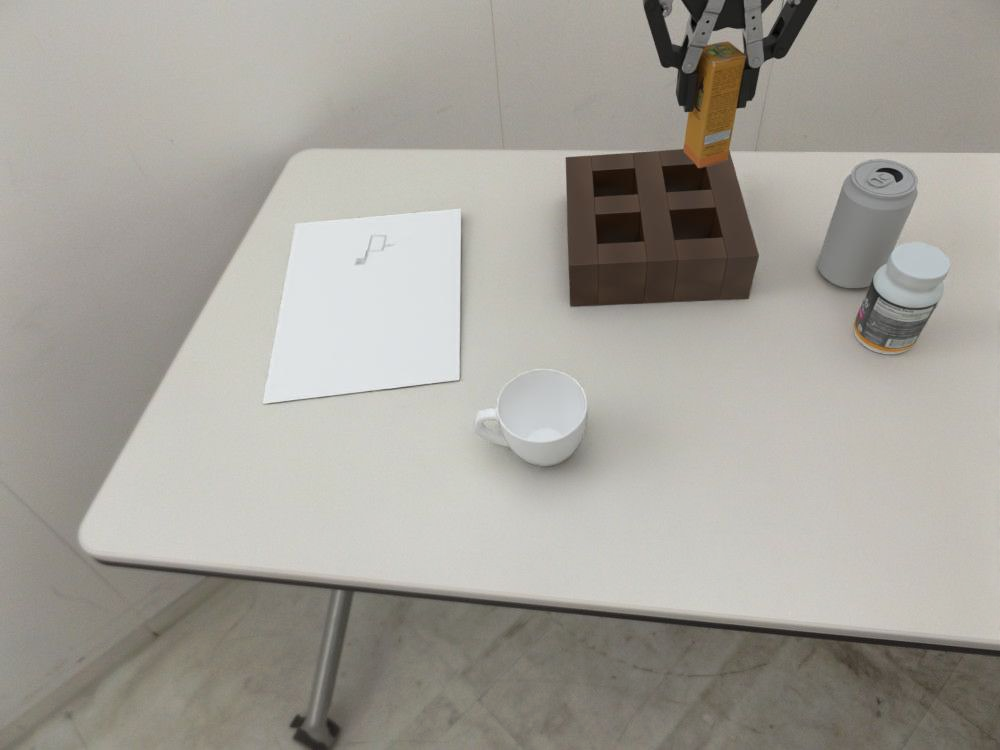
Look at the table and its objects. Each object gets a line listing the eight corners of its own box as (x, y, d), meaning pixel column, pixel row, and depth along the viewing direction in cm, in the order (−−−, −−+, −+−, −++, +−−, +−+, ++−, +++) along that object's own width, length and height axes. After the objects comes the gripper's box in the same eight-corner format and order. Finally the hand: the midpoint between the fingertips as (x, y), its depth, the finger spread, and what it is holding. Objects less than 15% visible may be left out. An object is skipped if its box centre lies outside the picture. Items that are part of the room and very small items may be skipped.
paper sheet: (482, 212, 85) (481, 206, 84) (457, 408, 68) (455, 402, 67) (300, 219, 88) (297, 212, 87) (233, 408, 71) (229, 402, 70)
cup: (591, 481, 60) (590, 440, 55) (478, 486, 61) (467, 445, 56) (585, 410, 65) (584, 365, 60) (481, 415, 66) (471, 371, 61)
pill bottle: (862, 306, 69) (895, 229, 62) (923, 327, 67) (965, 249, 59) (843, 343, 67) (875, 267, 59) (905, 366, 64) (947, 290, 57)
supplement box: (731, 160, 64) (749, 54, 56) (697, 170, 64) (710, 65, 56) (714, 142, 66) (729, 37, 58) (681, 151, 66) (691, 47, 58)
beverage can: (894, 273, 72) (938, 177, 62) (852, 302, 70) (892, 207, 61) (842, 243, 75) (877, 147, 66) (802, 269, 74) (832, 175, 64)
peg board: (721, 189, 83) (728, 145, 79) (748, 298, 72) (759, 255, 67) (567, 198, 85) (565, 156, 81) (570, 306, 74) (568, 265, 69)
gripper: (646, -94, 46) (635, 135, 59) (870, -119, 44) (807, 123, 58) (637, -131, 51) (628, 89, 64) (839, -154, 49) (787, 77, 62)
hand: (713, 104), depth 61 cm, fingers closed on supplement box, 4 cm apart
